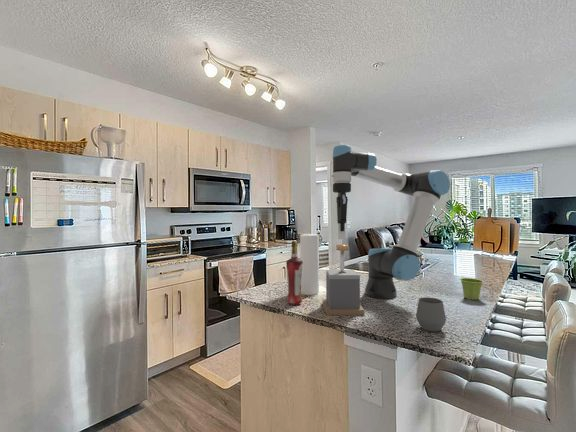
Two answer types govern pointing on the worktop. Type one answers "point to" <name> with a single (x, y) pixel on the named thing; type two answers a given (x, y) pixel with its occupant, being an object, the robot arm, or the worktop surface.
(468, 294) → the plant pot
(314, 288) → the cylinder container
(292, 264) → the liquor
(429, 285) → the worktop surface
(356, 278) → the press
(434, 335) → the worktop surface
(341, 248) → the plunger
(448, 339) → the worktop surface
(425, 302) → the cup
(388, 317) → the worktop surface
